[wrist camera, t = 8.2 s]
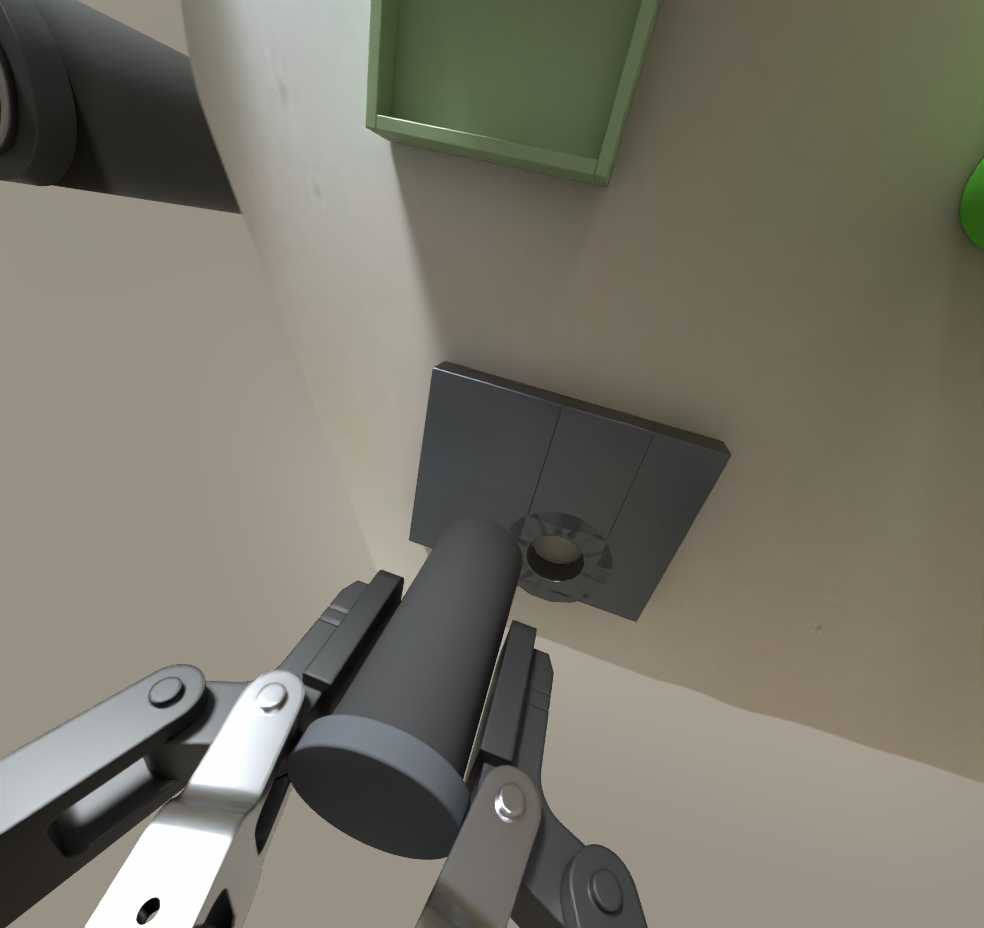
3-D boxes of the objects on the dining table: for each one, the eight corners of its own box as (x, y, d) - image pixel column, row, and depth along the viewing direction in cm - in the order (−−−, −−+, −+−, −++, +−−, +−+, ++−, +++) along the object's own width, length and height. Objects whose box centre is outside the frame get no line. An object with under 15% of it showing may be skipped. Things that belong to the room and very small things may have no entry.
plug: (426, 572, 16) (287, 808, 9) (441, 495, 14) (282, 717, 7) (516, 606, 15) (443, 881, 9) (544, 531, 14) (481, 804, 7)
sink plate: (417, 535, 33) (407, 550, 32) (444, 360, 26) (432, 367, 24) (630, 611, 31) (631, 631, 29) (723, 441, 24) (732, 454, 22)
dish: (387, 140, 22) (364, 127, 20) (406, -160, 17) (379, -217, 15) (607, 187, 20) (606, 177, 18) (699, -131, 15) (712, -192, 13)
